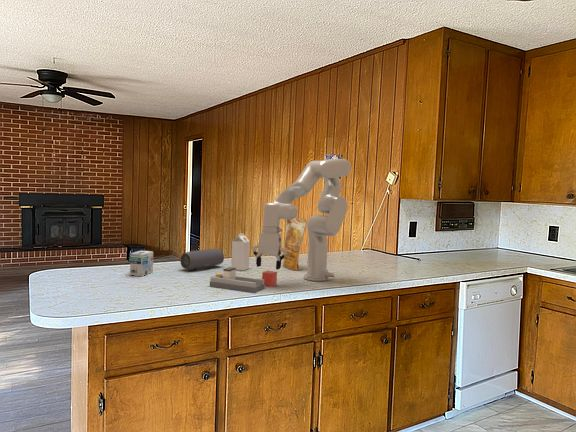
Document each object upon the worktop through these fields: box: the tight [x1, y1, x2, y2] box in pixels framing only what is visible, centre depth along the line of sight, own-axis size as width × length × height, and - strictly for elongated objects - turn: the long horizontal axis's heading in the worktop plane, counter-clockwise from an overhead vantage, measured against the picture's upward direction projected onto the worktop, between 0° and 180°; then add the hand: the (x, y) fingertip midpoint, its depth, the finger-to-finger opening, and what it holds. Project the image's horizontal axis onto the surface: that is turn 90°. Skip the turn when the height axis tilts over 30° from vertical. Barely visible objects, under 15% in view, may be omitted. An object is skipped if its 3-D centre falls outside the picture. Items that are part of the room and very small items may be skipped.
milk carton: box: [230, 232, 251, 271], centre depth 242 cm, size 7×7×19 cm
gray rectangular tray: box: [209, 272, 266, 294], centre depth 201 cm, size 22×10×5 cm, turn 67°
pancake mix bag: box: [282, 216, 308, 271], centre depth 250 cm, size 7×19×28 cm, turn 26°
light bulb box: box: [129, 250, 154, 277], centre depth 220 cm, size 11×7×11 cm, turn 168°
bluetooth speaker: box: [179, 248, 225, 271], centre depth 239 cm, size 23×9×10 cm, turn 141°
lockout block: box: [261, 270, 278, 288], centre depth 208 cm, size 5×5×6 cm
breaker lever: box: [222, 266, 237, 280], centre depth 202 cm, size 3×6×6 cm, turn 157°
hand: (268, 267), depth 207 cm, fingers open, 9 cm apart
